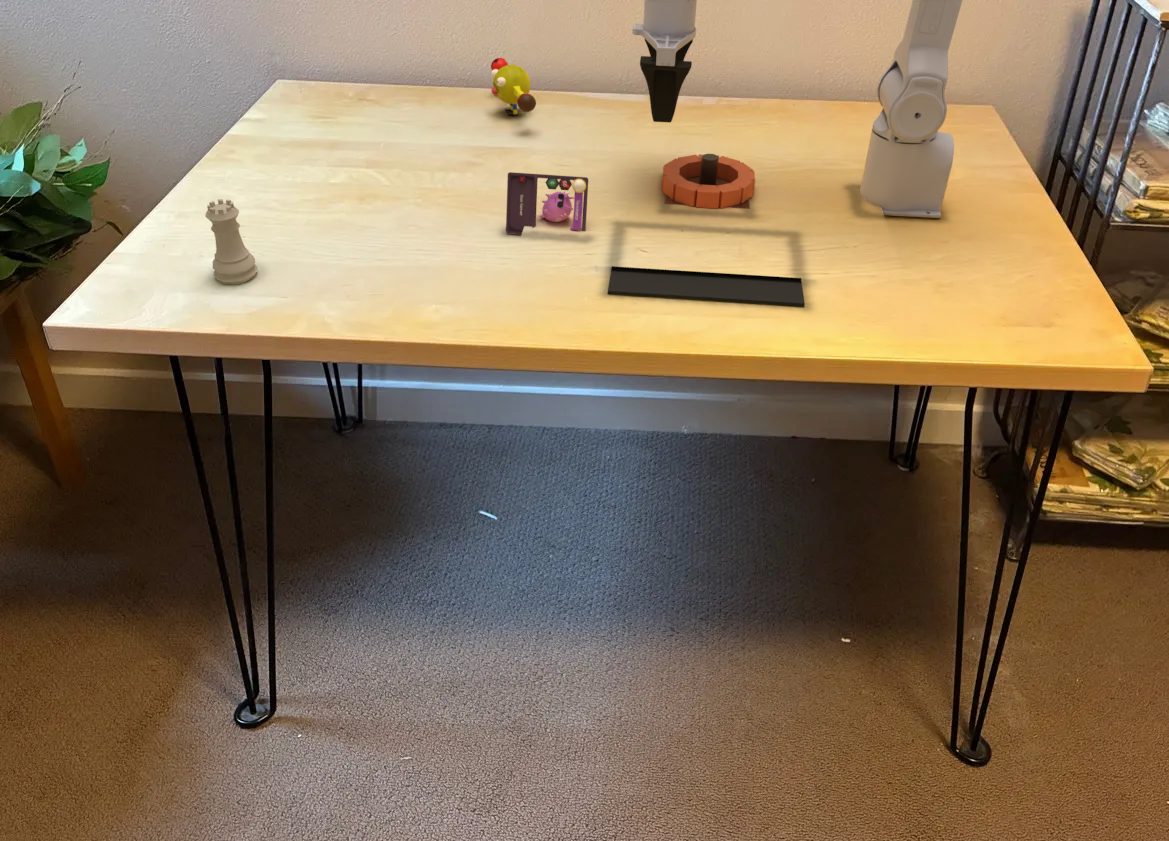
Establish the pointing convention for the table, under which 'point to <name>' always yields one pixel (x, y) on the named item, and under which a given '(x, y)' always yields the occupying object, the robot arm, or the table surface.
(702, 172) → the stand
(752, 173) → the ring
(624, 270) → the tray
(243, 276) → the rook chess piece
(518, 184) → the game card
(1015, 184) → the table surface
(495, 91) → the toy figure
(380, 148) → the table surface
